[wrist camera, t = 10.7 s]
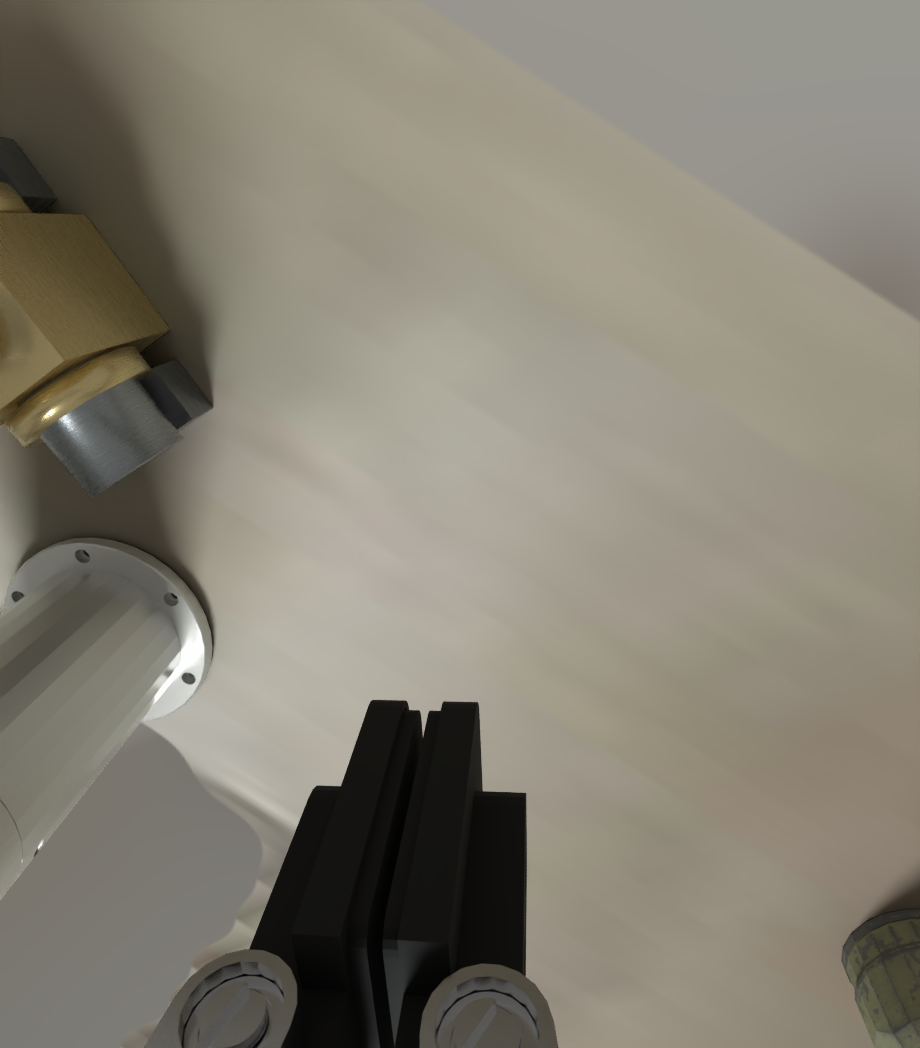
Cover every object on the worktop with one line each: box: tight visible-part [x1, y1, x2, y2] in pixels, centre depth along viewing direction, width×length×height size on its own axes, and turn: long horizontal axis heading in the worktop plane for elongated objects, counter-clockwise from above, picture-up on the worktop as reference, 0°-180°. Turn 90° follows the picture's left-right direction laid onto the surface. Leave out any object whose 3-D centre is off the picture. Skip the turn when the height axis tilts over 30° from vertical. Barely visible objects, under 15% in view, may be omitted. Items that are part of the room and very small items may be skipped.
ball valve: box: [0, 137, 213, 498], centre depth 32 cm, size 7×16×9 cm, turn 32°
